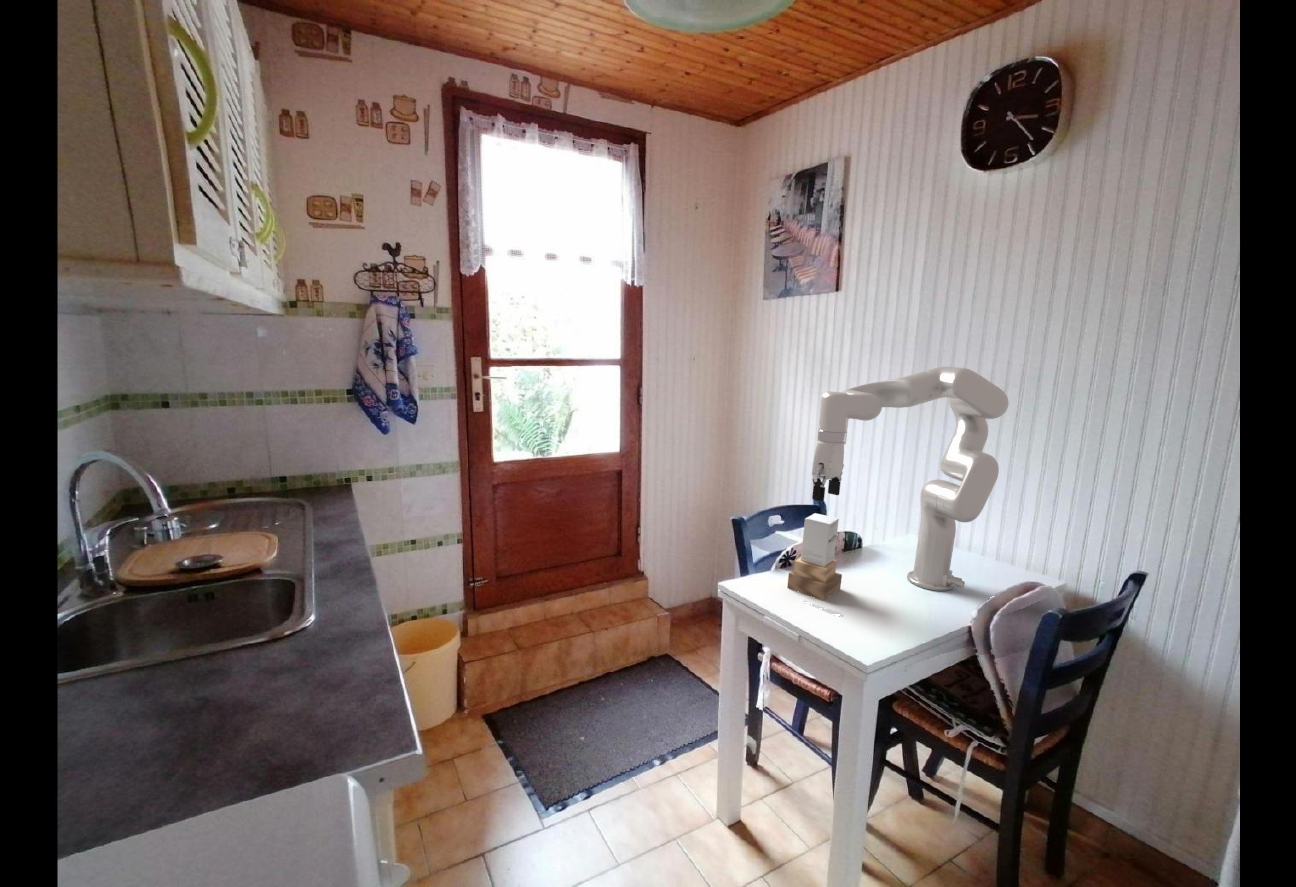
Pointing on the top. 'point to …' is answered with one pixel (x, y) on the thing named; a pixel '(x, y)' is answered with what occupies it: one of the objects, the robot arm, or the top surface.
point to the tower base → (814, 585)
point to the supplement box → (819, 539)
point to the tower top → (814, 570)
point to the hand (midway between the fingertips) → (825, 497)
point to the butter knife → (826, 609)
